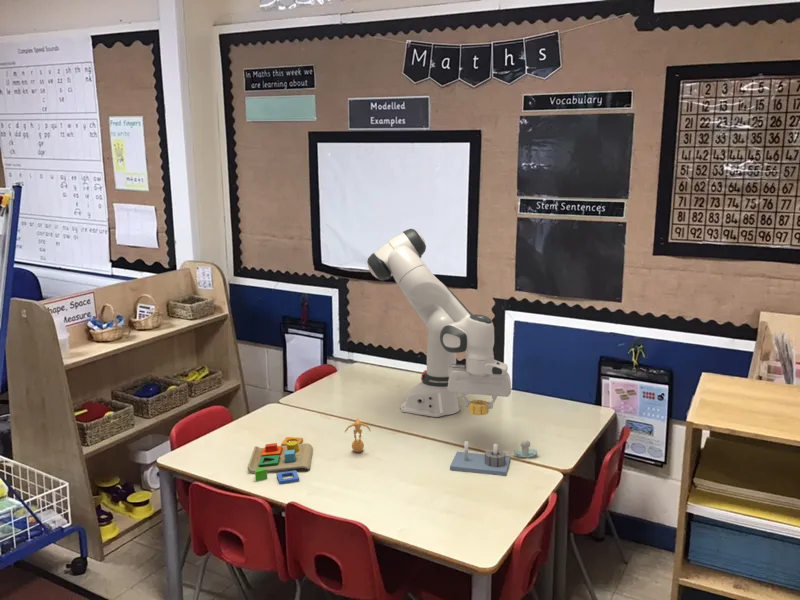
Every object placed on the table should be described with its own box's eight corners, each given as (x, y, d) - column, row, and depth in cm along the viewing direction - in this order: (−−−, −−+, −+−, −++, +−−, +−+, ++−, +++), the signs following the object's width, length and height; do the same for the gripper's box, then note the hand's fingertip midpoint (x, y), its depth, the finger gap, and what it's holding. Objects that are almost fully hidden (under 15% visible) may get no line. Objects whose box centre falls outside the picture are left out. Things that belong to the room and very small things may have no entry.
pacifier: (511, 453, 229) (515, 460, 223) (511, 435, 228) (515, 441, 222) (533, 452, 230) (538, 459, 224) (533, 434, 229) (538, 440, 223)
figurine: (370, 448, 233) (369, 413, 231) (371, 455, 227) (370, 420, 225) (344, 449, 232) (344, 415, 230) (345, 457, 226) (344, 421, 224)
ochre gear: (467, 414, 226) (467, 405, 226) (470, 408, 232) (470, 399, 232) (487, 415, 225) (487, 406, 224) (489, 409, 231) (489, 400, 230)
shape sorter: (258, 441, 240) (257, 428, 239) (314, 439, 241) (314, 426, 240) (243, 485, 207) (242, 471, 206) (308, 483, 208) (307, 468, 207)
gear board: (449, 469, 216) (450, 447, 215) (457, 455, 227) (457, 433, 226) (505, 475, 211) (506, 453, 210) (510, 460, 223) (510, 438, 222)
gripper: (445, 366, 225) (445, 407, 228) (510, 370, 220) (509, 412, 223) (449, 361, 231) (448, 401, 234) (512, 365, 226) (511, 406, 229)
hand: (478, 407), depth 228 cm, fingers closed on ochre gear, 6 cm apart
